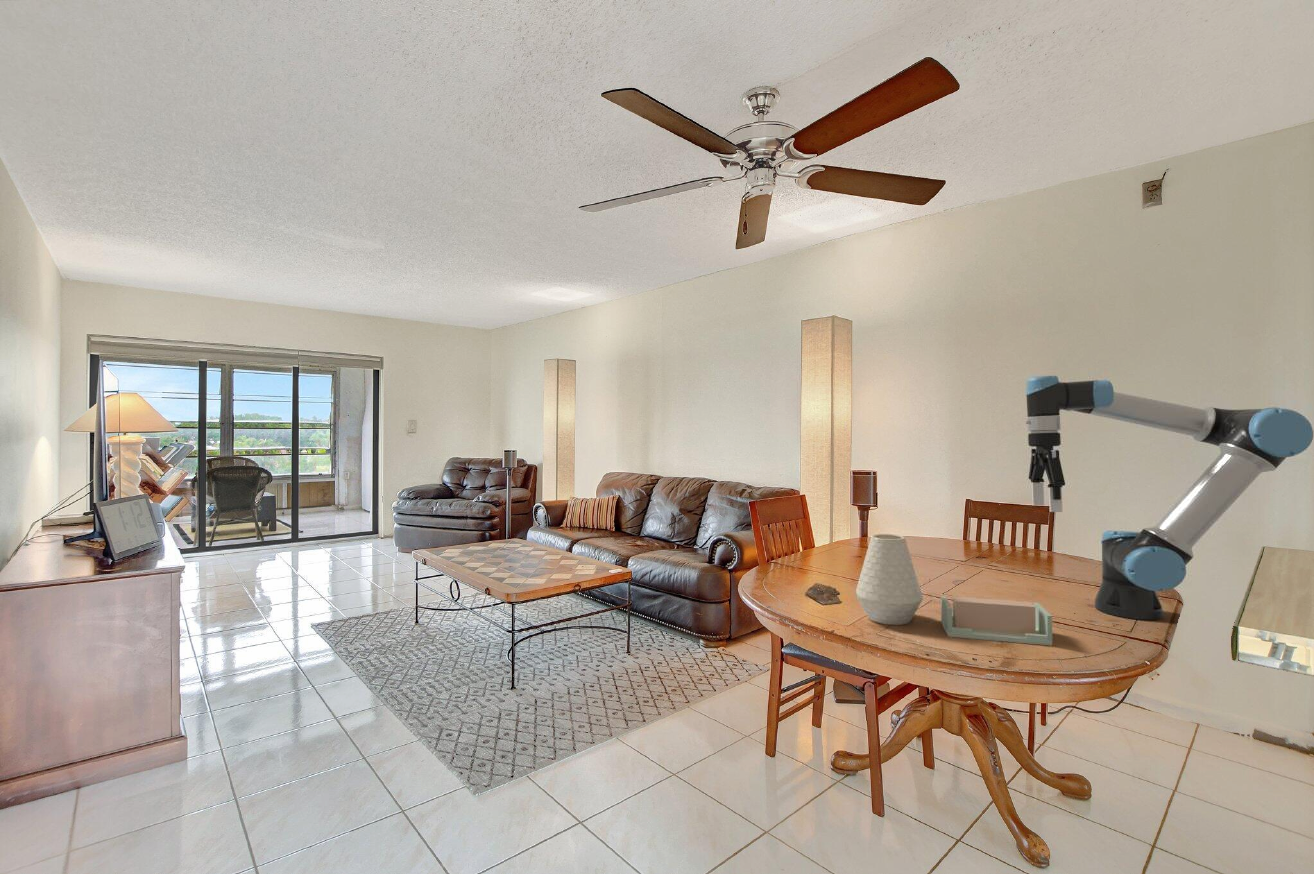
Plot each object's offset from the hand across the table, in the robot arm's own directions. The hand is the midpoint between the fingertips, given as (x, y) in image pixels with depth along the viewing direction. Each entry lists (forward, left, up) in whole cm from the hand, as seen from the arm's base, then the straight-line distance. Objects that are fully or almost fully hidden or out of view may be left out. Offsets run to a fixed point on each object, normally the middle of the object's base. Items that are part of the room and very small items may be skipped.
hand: (1046, 508), depth 163 cm
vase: (+42, +13, -31) cm, 53 cm away
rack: (+17, +18, -30) cm, 39 cm away
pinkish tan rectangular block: (+17, +18, -29) cm, 38 cm away
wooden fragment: (+61, -8, -31) cm, 69 cm away
